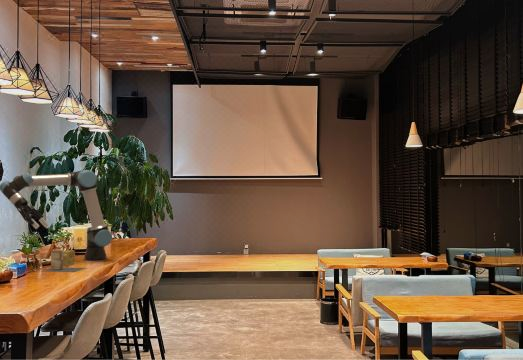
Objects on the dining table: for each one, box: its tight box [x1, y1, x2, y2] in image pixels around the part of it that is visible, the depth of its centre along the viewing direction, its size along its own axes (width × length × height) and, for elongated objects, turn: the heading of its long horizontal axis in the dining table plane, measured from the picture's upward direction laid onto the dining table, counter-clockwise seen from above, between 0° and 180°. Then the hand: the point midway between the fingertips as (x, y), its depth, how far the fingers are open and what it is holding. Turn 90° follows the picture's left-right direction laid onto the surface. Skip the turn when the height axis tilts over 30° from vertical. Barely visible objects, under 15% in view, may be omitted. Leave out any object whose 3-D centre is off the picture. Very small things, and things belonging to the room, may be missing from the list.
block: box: [50, 249, 64, 270], centre depth 309 cm, size 5×5×12 cm
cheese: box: [62, 249, 76, 267], centre depth 326 cm, size 10×11×10 cm
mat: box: [41, 266, 87, 273], centre depth 308 cm, size 16×22×1 cm
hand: (42, 226), depth 310 cm, fingers open, 10 cm apart
